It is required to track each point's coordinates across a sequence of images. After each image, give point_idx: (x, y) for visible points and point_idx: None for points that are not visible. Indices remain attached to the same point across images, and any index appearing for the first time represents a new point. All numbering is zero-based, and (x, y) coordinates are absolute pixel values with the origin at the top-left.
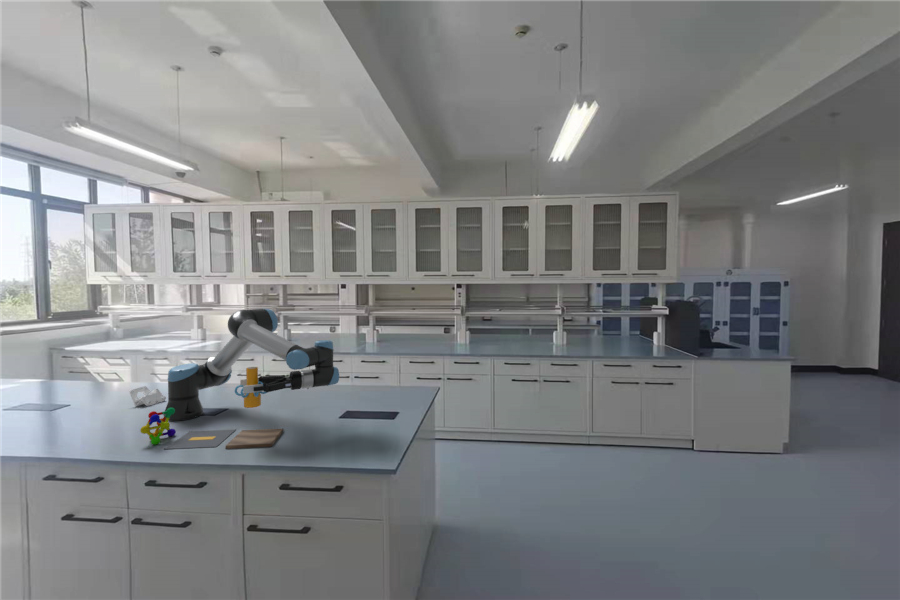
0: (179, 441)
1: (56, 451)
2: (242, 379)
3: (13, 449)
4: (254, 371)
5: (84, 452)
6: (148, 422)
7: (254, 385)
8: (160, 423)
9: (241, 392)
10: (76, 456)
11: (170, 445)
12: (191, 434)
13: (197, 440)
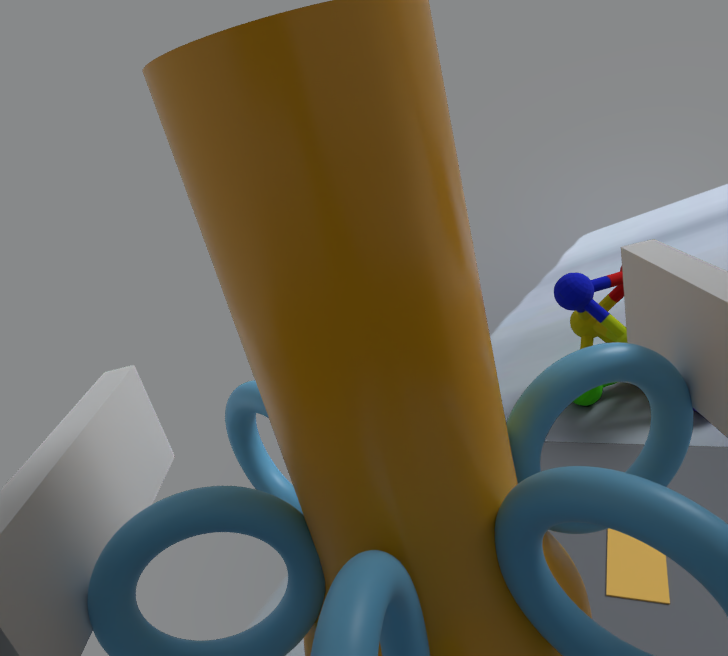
0: (600, 458)
1: (574, 271)
2: (668, 248)
3: (607, 229)
4: (174, 158)
5: (548, 306)
6: (606, 297)
7: (26, 467)
8: (604, 326)
9: (229, 431)
10: (519, 307)
11: (546, 446)
12: (722, 471)
13: None
